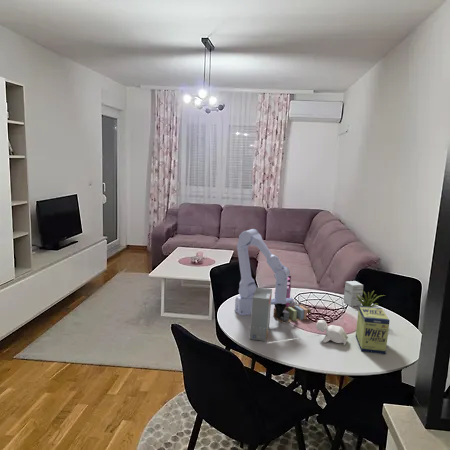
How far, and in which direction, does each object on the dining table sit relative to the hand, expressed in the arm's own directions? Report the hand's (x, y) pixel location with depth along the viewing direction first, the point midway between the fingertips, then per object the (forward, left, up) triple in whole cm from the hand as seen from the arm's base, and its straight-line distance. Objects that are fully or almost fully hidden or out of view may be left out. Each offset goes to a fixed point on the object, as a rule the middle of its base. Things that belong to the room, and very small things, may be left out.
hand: (279, 317), depth 207 cm
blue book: (+12, 0, -1) cm, 12 cm away
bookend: (+2, 0, -1) cm, 3 cm away
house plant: (+46, -12, -2) cm, 48 cm away
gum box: (+14, +21, -2) cm, 25 cm away
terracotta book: (+14, 0, -1) cm, 14 cm away
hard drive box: (-16, -10, -2) cm, 19 cm away
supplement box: (+54, +10, -2) cm, 55 cm away
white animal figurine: (+12, -26, -2) cm, 29 cm away
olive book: (+7, 0, -1) cm, 8 cm away
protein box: (+27, -35, -2) cm, 45 cm away
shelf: (+8, +1, -2) cm, 8 cm away
